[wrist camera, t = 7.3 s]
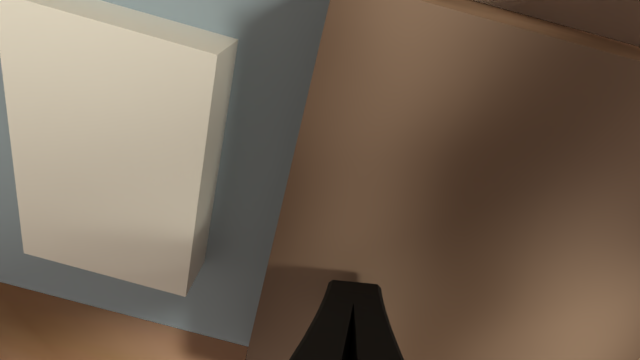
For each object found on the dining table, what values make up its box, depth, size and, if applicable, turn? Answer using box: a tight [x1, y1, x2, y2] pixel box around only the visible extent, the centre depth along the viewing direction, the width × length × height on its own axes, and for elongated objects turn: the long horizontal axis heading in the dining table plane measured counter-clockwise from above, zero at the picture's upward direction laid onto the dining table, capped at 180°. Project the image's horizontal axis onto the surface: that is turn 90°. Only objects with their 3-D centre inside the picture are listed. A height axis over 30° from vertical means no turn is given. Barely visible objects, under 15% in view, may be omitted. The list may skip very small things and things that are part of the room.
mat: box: [0, 0, 330, 347], centre depth 16 cm, size 14×16×1 cm
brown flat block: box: [245, 0, 640, 360], centre depth 14 cm, size 11×16×4 cm
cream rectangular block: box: [0, 0, 239, 297], centre depth 14 cm, size 6×9×2 cm, turn 166°
